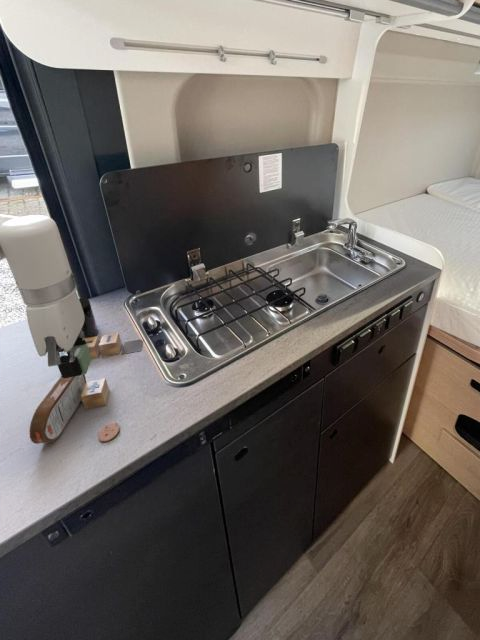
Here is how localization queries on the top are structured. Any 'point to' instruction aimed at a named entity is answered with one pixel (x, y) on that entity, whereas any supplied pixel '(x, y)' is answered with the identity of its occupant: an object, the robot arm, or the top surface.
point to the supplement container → (88, 319)
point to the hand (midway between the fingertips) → (76, 365)
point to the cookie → (108, 431)
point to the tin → (56, 409)
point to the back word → (111, 345)
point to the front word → (95, 393)
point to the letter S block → (81, 356)
